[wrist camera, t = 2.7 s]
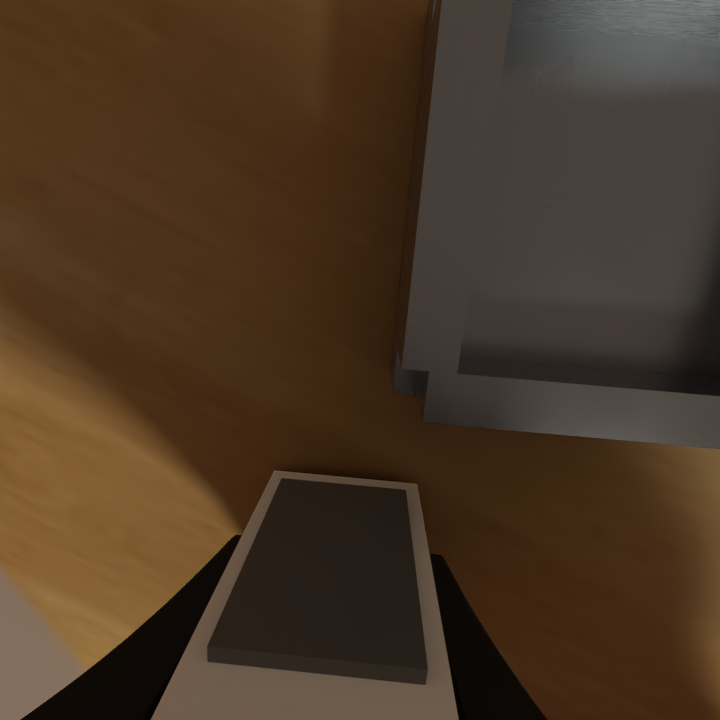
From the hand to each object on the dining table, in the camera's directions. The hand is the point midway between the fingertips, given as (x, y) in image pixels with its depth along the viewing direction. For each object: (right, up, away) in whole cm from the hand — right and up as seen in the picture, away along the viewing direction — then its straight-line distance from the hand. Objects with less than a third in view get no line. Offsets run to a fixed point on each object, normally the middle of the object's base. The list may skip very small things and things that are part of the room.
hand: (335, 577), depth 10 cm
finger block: (0, 0, +1) cm, 1 cm away
